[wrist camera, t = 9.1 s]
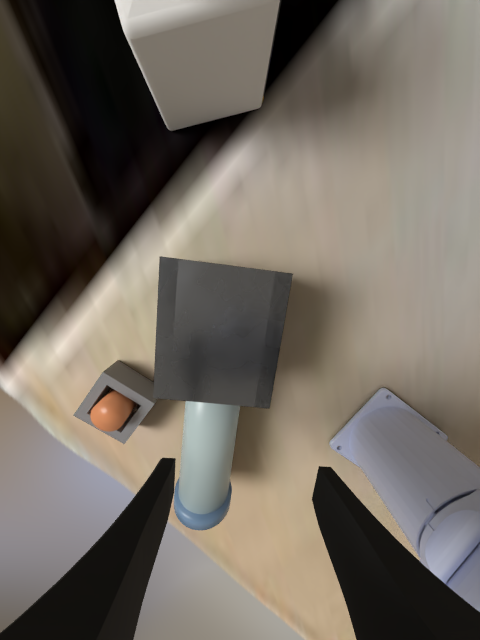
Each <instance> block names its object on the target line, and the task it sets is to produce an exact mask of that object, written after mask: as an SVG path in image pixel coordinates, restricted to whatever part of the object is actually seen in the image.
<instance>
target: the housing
mask: <svg viewBox="0 0 480 640" xmlns="http://www.w3.org/2000/svg"><path fill="white" fill-rule="evenodd" d="M292 275H293V274H291V273H284V272H276V271H268V270H260V269H253V268H245V267H237V266H230V265H222V264H214V263H206V262H199V261H191V260H183V259H176V258H168V257H160V263H159V284H158V306H157V327H156V349H155V370H154V392H153V398H159V399H170V400H181V401H192V402H203V403H214V404H225V405H236V406H247V407H258V408H270V403H271V397H272V391H273V385H274V379H275V374H276V368H277V362H278V356H279V350H280V345H281V339H282V333H283V327H284V321H285V315H286V310H287V304H288V298H289V292H290V286H291V281H292Z"/></svg>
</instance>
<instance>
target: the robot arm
mask: <svg viewBox="0 0 480 640" xmlns="http://www.w3.org/2000/svg"><path fill="white" fill-rule="evenodd" d="M387 395H388V396H387ZM386 396H387V397H386ZM447 439H448V436H447V435H446V434H445V433H443V432H442V431H441V430H439V429H438V428H437V427H436V426H434V425H433V424H432V423H430V422H429V421H428V420H426V419H425V418H424V417H423V416H421V415H420V414H419V413H417V412H416V411H415V410H414V409H412V408H411V407H410V406H408V405H407V404H406V403H404V402H403V401H402V400H401V399H399V398H398V397H397V396H395V395H394V394H393V393H392V392H390V391H389V390H388V389H386V388H381V389H379V390H378V391H377V392H376V393H375V394H374V395H373V397H372V398H371V399H370V400H369V401H368V402H367V403H366V404H365V405H364V406H363V407H362V408H361V409H360V410H359V411H358V412H357V413H356V414H355V415H354V416H353V418H352V419H351V420H350V421H349V422H348V423H347V424H346V425H345V426H344V427H343V428H342V429H341V430H340V431H339V432H338V433H337V434H336V435H335V436H334V438H333V439H332V440H331V441H330V443H329V444H330V446H331V448H332V449H333V450H335V451H336V452H338V453H339V454H341V455H342V456H344V457H345V458H347V459H348V460H350V461H351V462H353V463H354V464H356V465H357V466H359V467H360V468H361V469H362V470H363V472H364V473H365V475H366V477H367V478H368V480H369V481H370V483H371V484H372V486H373V487H374V489H375V490H376V492H377V493H378V495H379V496H380V498H381V499H382V501H383V502H384V504H385V505H386V507H387V509H388V510H389V512H390V513H391V515H392V516H393V518H394V519H395V521H396V522H397V524H398V525H399V527H400V528H401V530H402V531H403V533H404V534H405V536H406V538H407V539H408V541H409V542H410V544H411V545H412V547H413V548H414V550H415V551H416V553H417V554H418V556H419V557H420V561H419V560H418V559H417V558H415V557H414V556H413V555H412V554H411V553H410V552H409V551H408V550H407V549H406V548H405V547H404V546H403V545H402V544H401V543H400V542H399V541H398V540H397V539H396V538H395V537H394V536H393V535H392V534H391V533H390V532H389V531H388V530H387V529H386V528H385V527H384V526H383V525H382V524H381V523H380V522H379V521H378V520H377V519H376V518H375V517H374V516H373V515H372V514H371V512H370V511H369V510H368V509H367V508H366V507H365V506H364V505H363V504H362V503H361V501H360V500H359V499H358V498H357V497H356V496H355V495H354V493H353V492H352V491H351V490H350V489H349V488H348V487H347V485H346V484H345V483H344V482H343V481H342V480H341V478H340V477H339V476H338V475H337V474H336V473H335V471H334V470H333V469H332V468H331V467H320V466H319V469H318V473H317V478H316V483H315V487H314V492H313V497H312V501H313V505H314V509H315V513H316V517H317V521H318V525H319V528H320V530H321V533H322V536H323V539H324V542H325V545H326V548H327V550H328V553H329V556H330V559H331V561H332V564H333V567H334V570H335V573H336V575H337V578H338V581H339V584H340V587H341V589H342V592H343V595H344V598H345V601H346V604H347V608H348V611H349V615H350V618H351V622H352V625H353V629H354V632H355V636H356V639H357V640H480V467H479V466H478V465H476V464H475V463H474V462H473V461H471V460H470V459H469V458H467V457H466V456H465V455H464V454H462V453H461V452H460V451H459V450H457V449H456V448H455V447H454V446H452V445H451V444H450V443H449V442H447ZM338 446H339V447H338ZM174 479H175V459H174V458H162V459H161V460H160V461H159V463H158V464H157V466H156V468H155V469H154V471H153V472H152V474H151V475H150V477H149V478H148V479H147V481H146V482H145V484H144V485H143V486H142V488H141V489H140V490H139V492H138V493H137V494H136V496H135V497H134V498H133V500H132V501H131V502H130V504H129V505H128V506H127V507H126V508H125V510H124V511H123V512H122V513H121V514H120V516H119V517H118V518H117V519H116V520H115V522H114V523H113V524H112V525H111V526H110V528H109V529H108V530H107V531H106V532H105V533H104V534H103V536H102V537H101V538H100V539H99V540H98V541H97V542H96V543H95V544H94V545H93V546H92V547H91V548H90V550H89V551H88V552H87V553H86V554H85V555H84V556H83V557H82V558H81V559H80V560H79V561H78V562H77V563H76V564H75V565H74V566H73V567H72V568H71V569H70V570H69V571H68V572H67V573H66V574H65V575H64V576H63V577H62V578H61V579H60V580H59V581H58V582H57V583H56V584H55V585H53V586H52V587H51V588H50V589H49V590H48V591H47V592H46V593H45V594H44V595H43V596H41V597H40V598H39V599H38V600H37V601H36V602H35V603H34V604H33V605H32V606H31V607H30V608H29V609H28V610H26V611H25V612H24V613H23V614H22V615H21V616H20V617H19V618H17V619H16V620H15V621H14V622H13V623H12V624H11V625H9V626H8V627H7V628H6V629H5V630H3V631H2V632H1V633H0V640H133V638H134V634H135V630H136V626H137V622H138V618H139V613H140V610H141V606H142V602H143V599H144V595H145V592H146V588H147V585H148V581H149V578H150V575H151V572H152V569H153V565H154V562H155V559H156V556H157V553H158V549H159V546H160V543H161V540H162V537H163V533H164V530H165V527H166V524H167V520H168V517H169V512H170V508H171V503H172V499H173V494H174Z"/></svg>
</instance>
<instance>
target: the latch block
mask: <svg viewBox="0 0 480 640" xmlns="http://www.w3.org/2000/svg"><path fill="white" fill-rule="evenodd" d="M110 387H111V388H113V389H114V390H116V391H118V392H119V393H121V394H123V395H124V396H126V397H128V398H129V399H131V400H133V401H134V402H136V403H138V404H139V405H140V406H139V408H138V409H137V411H136V412H135V413H134V415H133V414H130V415H129V417H128V418H127V419H126V421H125V422H124V424H123V425H122V426H121V427H120V428H119V429H118V430H115V431H110V432H108V431H103V430H100V429H98V428H97V427H96V426H95V425H94V424H93V423H92V421H91V417H90V414H91V411H92V409H93V407H94V406H95V405H96V404H97V403H98V402H99V401H100V400H102V399H103V398H104V396H105V394H106V393H107V391H108V390H109V388H110ZM153 392H154V382H152V381H150V380H149V379H147V378H146V377H144V376H142V375H141V374H139V373H138V372H136V371H134V370H133V369H131V368H130V367H128V366H126V365H125V364H123V363H122V362H120V361H116V362H115V363H114V364H113V365H111V366H110V367H109V368H107V369H106V370H105V371H104V372H103V373H102V374H101V376H100V377H99V378H98V380H97V381H96V383H95V384H94V386H93V387H92V389H91V390H90V392H89V393H88V395H87V396H86V398H85V399H84V400H83V402H82V403H81V405H80V406H79V408H78V409H77V411H76V412H75V414H74V415H73V416H75V417H77V418H79V419H81V420H82V421H84V422H86V423H88V424H89V425H91V426H93V427H95V428H97V429H98V430H100V431H102V432H104V433H105V434H107V435H109V436H111V437H113V438H114V439H116V440H118V441H120V442H122V443H123V444H125V443H126V441H127V440H128V439H129V437H130V436H131V435H132V433H133V432H134V431H135V429H136V428H137V427H138V425H139V424H140V423H141V421H142V420H143V419H144V417H145V416H146V415H147V413H148V412H149V411H150V409H151V408H152V407H153V405H154V404H155V402H156V401H157V399H158V398H153Z"/></svg>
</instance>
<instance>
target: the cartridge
mask: <svg viewBox="0 0 480 640" xmlns="http://www.w3.org/2000/svg"><path fill="white" fill-rule="evenodd" d="M239 411H240V406H236V405H225V404H214V403H203V402H192V401H186V403H185V415H184V427H183V440H182V452H181V464H180V477H179V479H178V481H177V483H176V487H175V495H174V509H175V513H176V516H177V517H178V519H179V520H180V522H181V523H182V524H184V525H185V526H186V527H188V528H190V529H194V530H207V529H210V528H212V527H214V526H216V525H217V524H219V523H220V522H221V521H222V520H223V519H224V517H225V516H226V514H227V512H228V509H229V506H230V500H231V492H232V487H231V482H230V475H231V468H232V461H233V454H234V447H235V440H236V433H237V425H238V418H239Z"/></svg>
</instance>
